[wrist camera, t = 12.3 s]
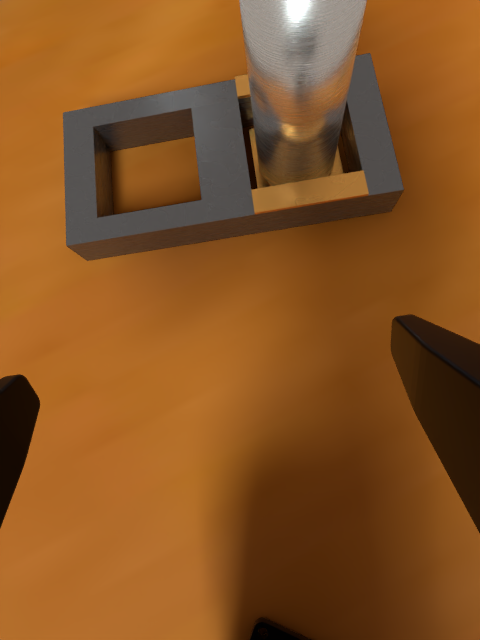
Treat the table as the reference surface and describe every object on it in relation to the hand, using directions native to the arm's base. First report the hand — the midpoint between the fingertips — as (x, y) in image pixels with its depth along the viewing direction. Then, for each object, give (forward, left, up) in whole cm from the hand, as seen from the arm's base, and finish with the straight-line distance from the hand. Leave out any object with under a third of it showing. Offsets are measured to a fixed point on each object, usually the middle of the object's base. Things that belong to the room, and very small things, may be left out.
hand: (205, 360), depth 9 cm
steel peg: (+2, -15, -13) cm, 20 cm away
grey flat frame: (+6, -13, -14) cm, 20 cm away
